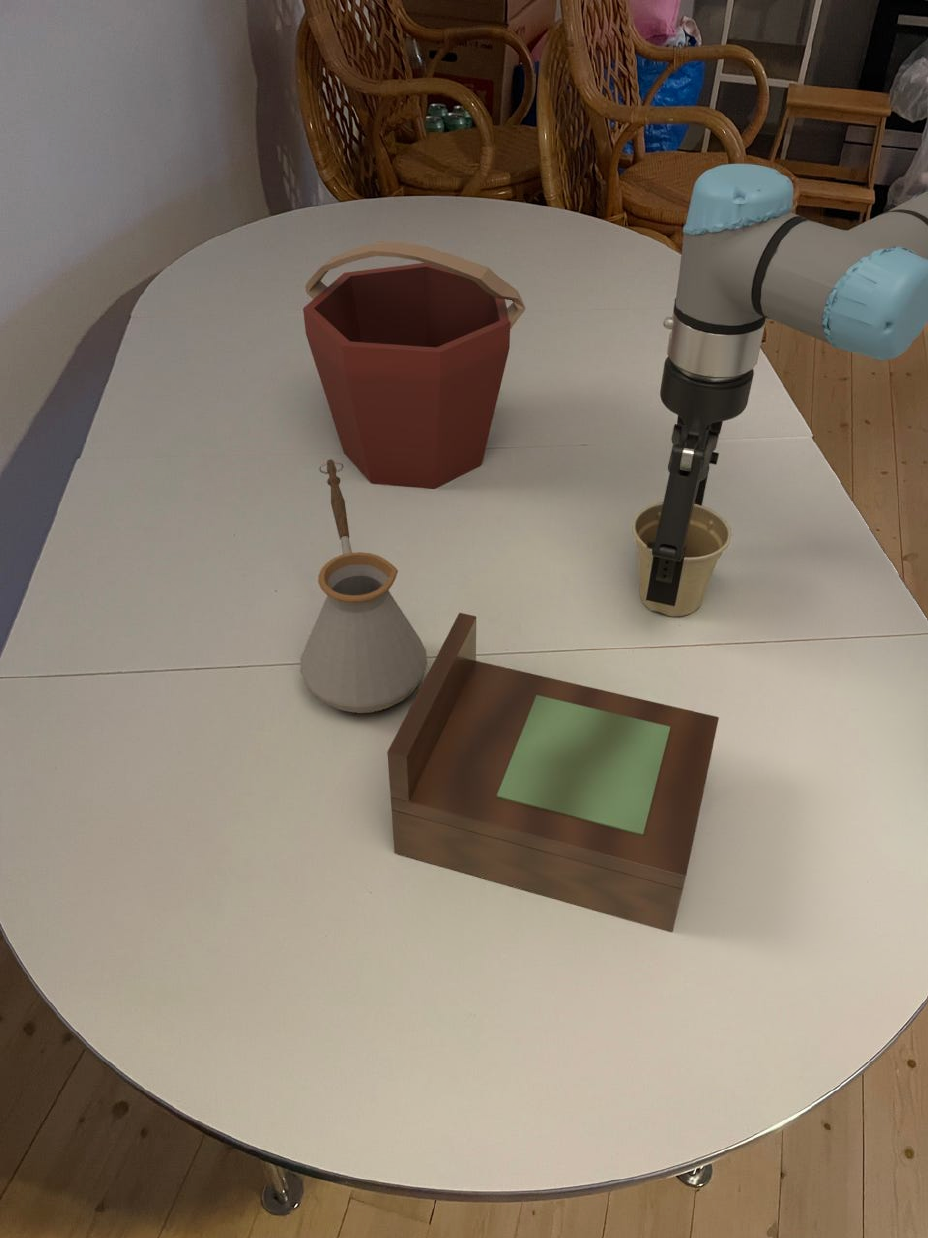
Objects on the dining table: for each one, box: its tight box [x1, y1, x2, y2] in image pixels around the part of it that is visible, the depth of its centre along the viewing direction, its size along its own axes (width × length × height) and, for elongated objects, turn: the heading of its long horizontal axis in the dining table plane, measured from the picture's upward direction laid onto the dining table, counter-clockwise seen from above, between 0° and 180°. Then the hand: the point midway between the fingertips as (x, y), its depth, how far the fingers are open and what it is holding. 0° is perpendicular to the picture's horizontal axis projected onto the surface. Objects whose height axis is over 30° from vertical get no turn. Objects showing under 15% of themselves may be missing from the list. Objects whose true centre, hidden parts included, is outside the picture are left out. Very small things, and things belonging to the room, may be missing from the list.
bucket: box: [302, 240, 527, 490], centre depth 117 cm, size 24×22×25 cm
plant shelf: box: [386, 612, 719, 933], centre depth 81 cm, size 22×16×12 cm
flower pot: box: [631, 501, 733, 618], centre depth 103 cm, size 9×9×9 cm
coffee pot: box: [299, 458, 428, 714], centre depth 95 cm, size 21×12×15 cm, turn 13°
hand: (673, 558), depth 102 cm, fingers open, 13 cm apart
